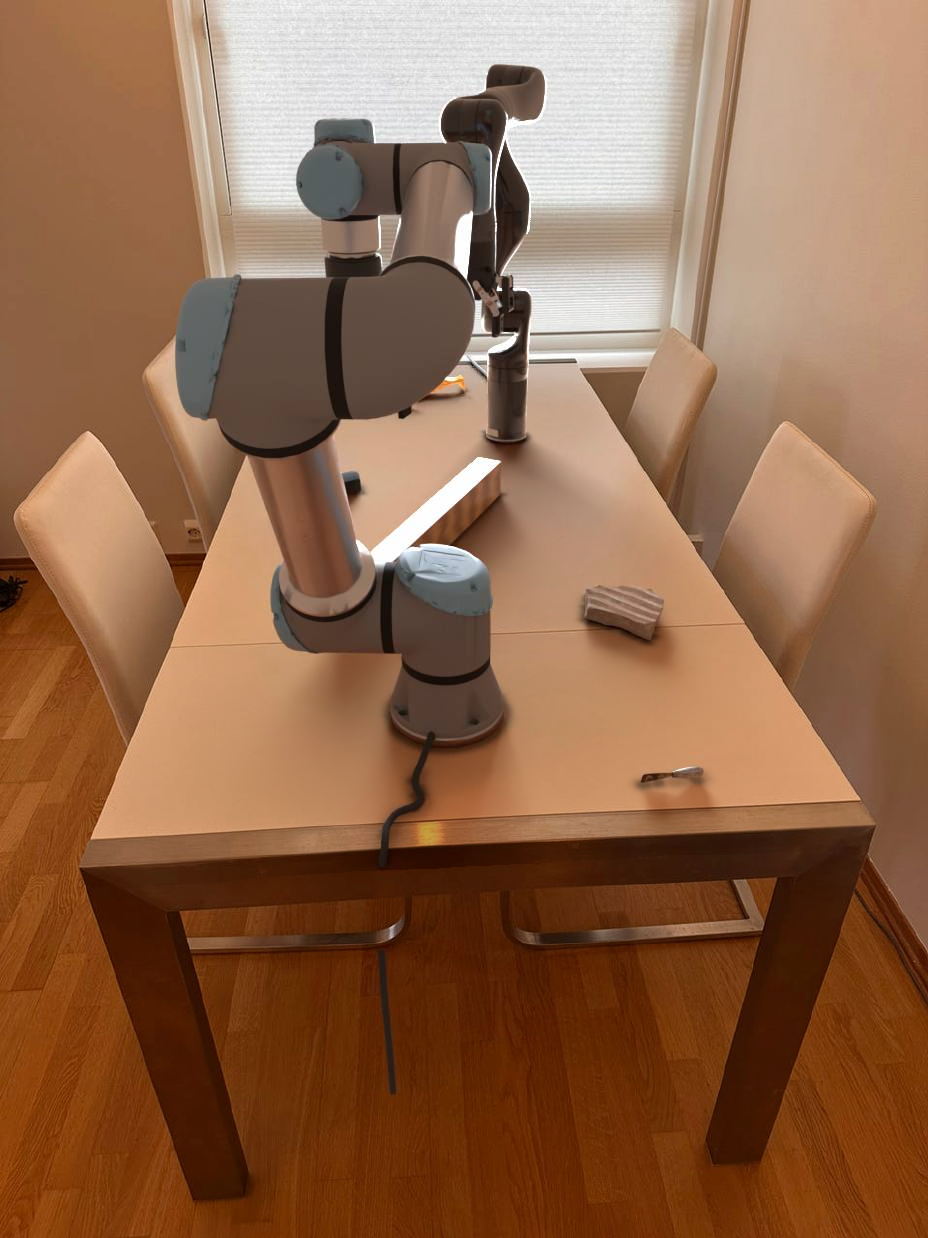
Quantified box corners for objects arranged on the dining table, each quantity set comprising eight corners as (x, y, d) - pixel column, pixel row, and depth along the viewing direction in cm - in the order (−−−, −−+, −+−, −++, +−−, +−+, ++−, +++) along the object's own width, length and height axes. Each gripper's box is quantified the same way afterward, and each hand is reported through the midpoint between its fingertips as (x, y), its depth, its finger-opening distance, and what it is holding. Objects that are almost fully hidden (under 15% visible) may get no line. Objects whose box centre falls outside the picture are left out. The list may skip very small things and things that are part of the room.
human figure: (365, 397, 234) (364, 383, 232) (408, 376, 248) (408, 362, 246) (428, 412, 226) (427, 396, 223) (468, 389, 240) (468, 374, 237)
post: (369, 625, 140) (366, 585, 136) (342, 618, 141) (338, 579, 138) (500, 494, 182) (501, 460, 178) (478, 490, 184) (478, 457, 180)
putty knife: (703, 777, 109) (705, 767, 109) (642, 788, 108) (644, 777, 107) (700, 772, 110) (702, 762, 109) (639, 782, 109) (640, 771, 108)
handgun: (373, 518, 173) (311, 526, 170) (357, 482, 187) (300, 489, 184) (372, 503, 171) (309, 511, 168) (356, 468, 185) (298, 474, 182)
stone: (668, 604, 144) (670, 590, 143) (652, 641, 135) (653, 627, 134) (591, 589, 149) (592, 576, 147) (570, 625, 139) (570, 611, 138)
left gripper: (450, 254, 116) (452, 412, 127) (288, 241, 125) (303, 391, 136) (425, 264, 110) (429, 429, 121) (257, 250, 119) (275, 406, 130)
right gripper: (521, 235, 150) (518, 333, 159) (444, 230, 155) (446, 325, 164) (504, 242, 144) (502, 343, 153) (425, 236, 149) (428, 335, 158)
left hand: (363, 409), depth 129 cm, fingers open, 13 cm apart
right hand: (473, 334), depth 158 cm, fingers open, 8 cm apart
